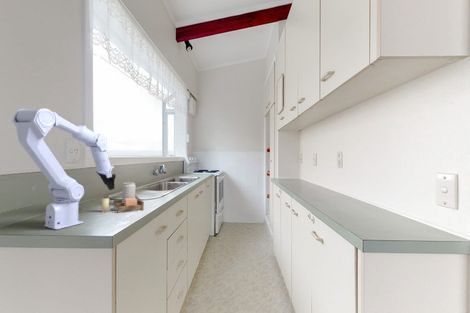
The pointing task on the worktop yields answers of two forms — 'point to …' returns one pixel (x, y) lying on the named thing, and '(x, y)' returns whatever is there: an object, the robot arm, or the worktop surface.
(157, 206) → the worktop surface
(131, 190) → the beverage can
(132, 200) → the grey rod with ends
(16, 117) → the robot arm
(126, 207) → the lane organiser
